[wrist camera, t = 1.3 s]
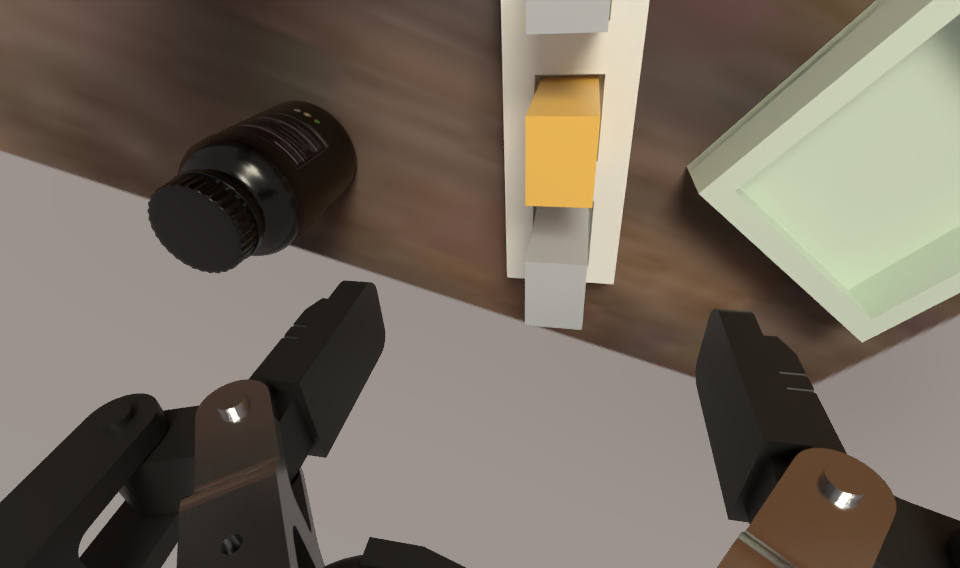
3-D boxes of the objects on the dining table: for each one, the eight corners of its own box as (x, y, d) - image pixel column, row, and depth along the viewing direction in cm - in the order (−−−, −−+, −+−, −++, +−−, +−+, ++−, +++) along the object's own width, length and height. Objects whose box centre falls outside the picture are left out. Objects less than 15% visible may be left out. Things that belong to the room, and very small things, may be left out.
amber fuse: (542, 76, 26) (525, 116, 20) (598, 75, 26) (600, 116, 19) (540, 148, 28) (525, 206, 22) (592, 149, 28) (592, 208, 21)
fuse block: (505, -121, 23) (497, -127, 21) (661, -135, 21) (667, -144, 19) (511, 260, 34) (507, 277, 32) (612, 266, 33) (613, 284, 31)
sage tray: (955, -70, 21) (1022, -75, 17) (1116, 140, 24) (1199, 170, 20) (686, 166, 28) (698, 193, 25) (834, 302, 31) (862, 342, 28)
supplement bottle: (345, 213, 35) (249, 313, 25) (257, 168, 34) (124, 253, 24) (372, 129, 31) (271, 210, 21) (274, 77, 30) (122, 135, 20)
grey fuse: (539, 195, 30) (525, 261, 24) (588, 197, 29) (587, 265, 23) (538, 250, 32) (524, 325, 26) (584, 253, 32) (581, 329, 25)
